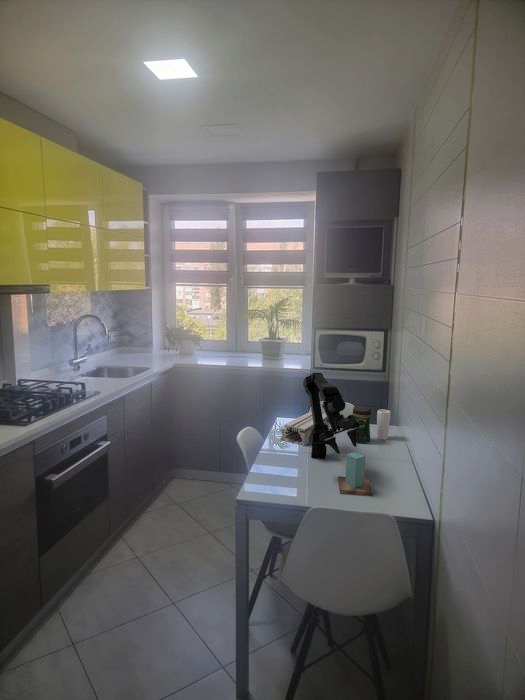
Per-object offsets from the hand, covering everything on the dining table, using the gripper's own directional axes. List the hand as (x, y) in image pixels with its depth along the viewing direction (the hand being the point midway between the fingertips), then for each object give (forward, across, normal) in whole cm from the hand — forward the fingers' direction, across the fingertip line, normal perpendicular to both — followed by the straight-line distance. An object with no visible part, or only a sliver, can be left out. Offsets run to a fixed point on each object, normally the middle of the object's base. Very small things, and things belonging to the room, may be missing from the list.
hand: (347, 450), depth 179 cm
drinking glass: (+3, +46, +31) cm, 56 cm away
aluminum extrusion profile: (-12, +14, +50) cm, 53 cm away
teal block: (+13, -6, -4) cm, 15 cm away
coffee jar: (0, +33, +32) cm, 46 cm away
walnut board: (+14, -6, -3) cm, 16 cm away
